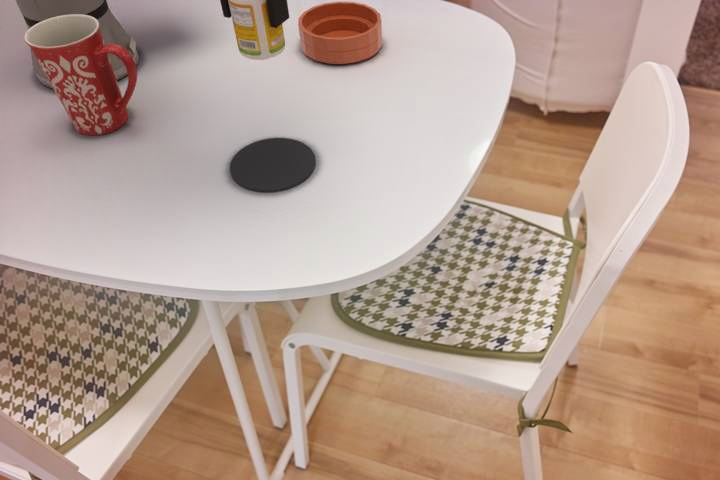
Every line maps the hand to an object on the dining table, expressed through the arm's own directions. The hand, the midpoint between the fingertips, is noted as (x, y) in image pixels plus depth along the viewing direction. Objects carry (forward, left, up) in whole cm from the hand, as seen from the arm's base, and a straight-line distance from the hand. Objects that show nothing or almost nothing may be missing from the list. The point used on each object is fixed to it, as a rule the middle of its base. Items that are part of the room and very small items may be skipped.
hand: (256, 16), depth 68 cm
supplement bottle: (0, 0, -4) cm, 4 cm away
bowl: (-20, +22, -18) cm, 35 cm away
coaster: (+2, -2, -18) cm, 19 cm away
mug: (-20, -16, -19) cm, 32 cm away
